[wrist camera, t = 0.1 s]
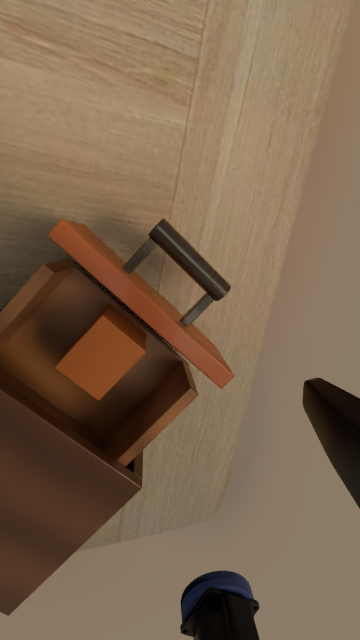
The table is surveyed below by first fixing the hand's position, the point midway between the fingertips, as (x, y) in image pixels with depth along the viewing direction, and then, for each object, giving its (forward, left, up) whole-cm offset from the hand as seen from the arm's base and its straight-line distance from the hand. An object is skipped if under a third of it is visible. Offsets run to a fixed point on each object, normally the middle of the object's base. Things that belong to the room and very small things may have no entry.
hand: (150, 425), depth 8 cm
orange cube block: (-3, +2, -14) cm, 15 cm away
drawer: (-3, +1, -15) cm, 15 cm away
